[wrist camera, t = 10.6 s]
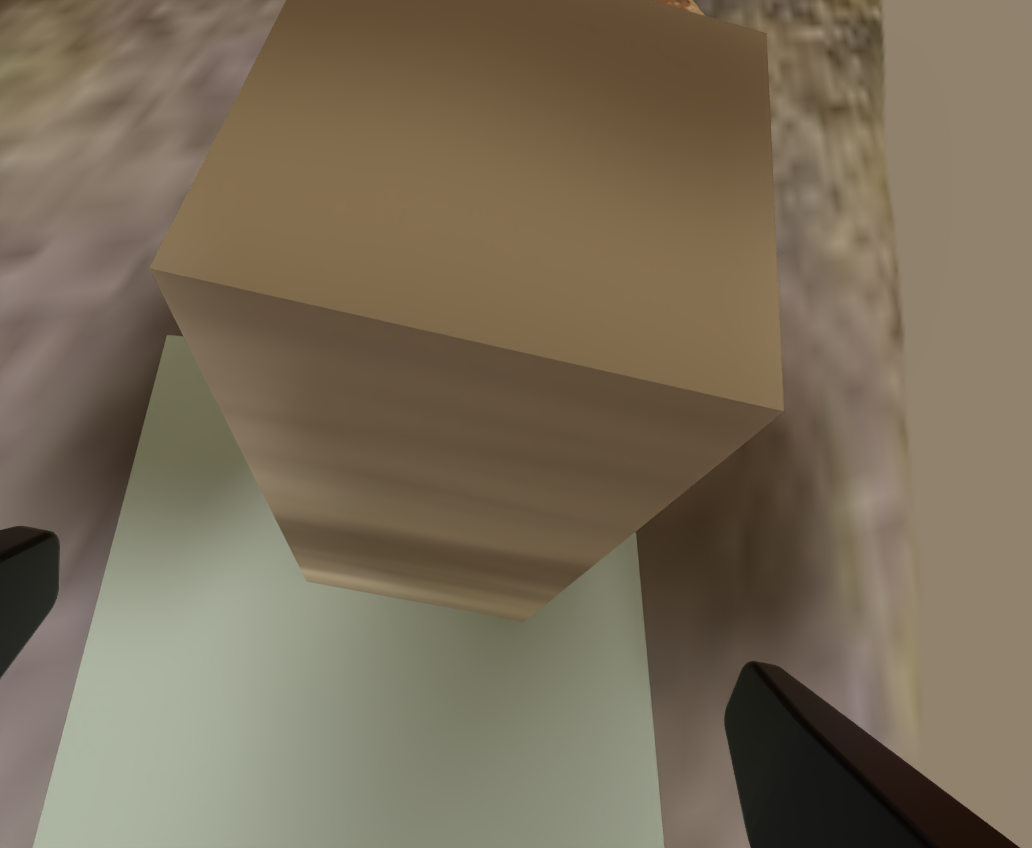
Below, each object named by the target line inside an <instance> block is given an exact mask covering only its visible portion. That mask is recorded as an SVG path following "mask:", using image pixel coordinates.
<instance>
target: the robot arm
mask: <svg viewBox="0 0 1032 848" xmlns="http://www.w3.org/2000/svg"><path fill="white" fill-rule="evenodd" d="M59 559H60V543H59V539H58V536H57V535H56V534H55V533H54V532H52V531H47V530H42V529H37V528H31V527H26V526H16V527H11V528H7V529H3V530H0V679H1V677H2V676H3V675H4V673H5V672H6V671H7V669H8V668H9V667H10V665H11V664H12V662H13V661H14V660H15V658H16V657H17V656H18V654H19V653H20V652H21V650H22V649H23V648H24V646H25V645H26V643H27V642H28V641H29V639H30V638H31V637H32V635H33V634H34V633H35V631H36V630H37V629H38V627H39V626H40V624H41V623H42V622H43V620H44V619H45V618H46V616H47V615H48V614H49V612H50V611H51V609H52V608H53V606H54V604H55V601H56V599H57V595H58V591H59ZM724 722H725V731H726V736H727V740H728V745H729V750H730V755H731V760H732V765H733V770H734V775H735V779H736V784H737V789H738V794H739V799H740V804H741V809H742V813H743V818H744V823H745V827H746V831H747V836H748V840H749V843H750V847H751V848H1020V847H1018V846H1017V845H1016V844H1014V843H1013V842H1012V841H1010V840H1009V839H1008V838H1006V837H1005V836H1004V835H1002V834H1001V833H1000V832H998V831H997V830H996V829H994V828H993V827H992V826H990V825H989V824H988V823H986V822H985V821H984V820H982V819H981V818H980V817H978V816H977V815H976V814H974V813H973V812H972V811H970V810H969V809H968V808H967V807H965V806H964V805H963V804H961V803H960V802H958V801H957V800H956V799H955V798H953V797H952V796H951V795H949V794H948V793H947V792H945V791H944V790H942V789H941V788H940V787H938V786H937V785H936V784H935V783H933V782H932V781H930V780H929V779H928V778H927V777H925V776H924V775H923V774H921V773H920V772H919V771H917V770H916V769H915V768H913V767H912V766H911V765H909V764H908V763H907V762H905V761H904V760H903V759H901V758H900V757H899V756H897V755H896V754H895V753H893V752H892V751H891V750H889V749H888V748H887V747H885V746H884V745H883V744H882V743H880V742H879V741H878V740H876V739H875V738H874V737H872V736H871V735H870V734H868V733H867V732H866V731H864V730H863V729H862V728H860V727H859V726H858V725H856V724H855V723H854V722H852V721H851V720H850V719H848V718H847V717H846V716H844V715H843V714H842V713H840V712H839V711H838V710H836V709H835V708H834V707H832V706H831V705H830V704H828V703H827V702H826V701H824V700H823V699H822V698H820V697H819V696H818V695H816V694H815V693H814V692H812V691H811V690H810V689H808V688H807V687H806V686H804V685H803V684H802V683H800V682H799V681H798V680H796V679H795V678H794V677H792V676H791V675H790V674H789V673H787V672H786V671H785V670H783V669H782V668H780V667H779V666H776V665H772V664H766V663H761V662H755V661H751V662H748V663H746V664H745V665H744V667H743V668H742V670H741V672H740V675H739V677H738V680H737V682H736V685H735V687H734V690H733V692H732V694H731V697H730V699H729V702H728V704H727V707H726V711H725V718H724Z"/></svg>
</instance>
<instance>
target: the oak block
mask: <svg viewBox="0 0 1032 848" xmlns="http://www.w3.org/2000/svg"><path fill="white" fill-rule="evenodd" d="M149 269H150V271H151V273H152V275H153V277H154V279H155V281H156V283H157V285H158V287H159V289H160V291H161V293H162V295H163V296H164V298H165V300H166V302H167V304H168V306H169V308H170V310H171V312H172V314H173V316H174V318H175V320H176V322H177V324H178V326H179V328H180V330H181V332H182V334H183V336H184V338H185V340H186V342H187V344H188V346H189V348H190V350H191V352H192V354H193V356H194V358H195V360H196V362H197V364H198V366H199V368H200V370H201V372H202V374H203V376H204V378H205V380H206V382H207V384H208V386H209V388H210V390H211V392H212V394H213V396H214V398H215V400H216V402H217V404H218V406H219V408H220V410H221V412H222V414H223V416H224V418H225V420H226V422H227V424H228V426H229V428H230V430H231V432H232V434H233V436H234V438H235V440H236V442H237V444H238V446H239V448H240V450H241V452H242V454H243V456H244V458H245V460H246V462H247V464H248V466H249V468H250V470H251V472H252V474H253V476H254V478H255V480H256V482H257V484H258V486H259V488H260V490H261V492H262V494H263V496H264V498H265V500H266V502H267V504H268V506H269V508H270V510H271V512H272V514H273V516H274V517H275V519H276V521H277V523H278V525H279V527H280V529H281V531H282V533H283V535H284V537H285V539H286V541H287V543H288V545H289V547H290V549H291V551H292V553H293V555H294V557H295V559H296V561H297V563H298V565H299V567H300V569H301V571H302V573H303V575H304V577H305V579H306V581H307V582H312V583H318V584H323V585H328V586H334V587H339V588H345V589H350V590H356V591H361V592H366V593H372V594H377V595H383V596H388V597H394V598H399V599H404V600H410V601H415V602H421V603H426V604H432V605H437V606H442V607H448V608H453V609H459V610H464V611H470V612H475V613H480V614H486V615H491V616H497V617H502V618H508V619H513V620H518V621H524V622H525V621H526V620H527V619H528V618H529V617H531V616H532V615H533V614H534V613H536V612H537V611H538V610H539V609H541V608H542V607H543V606H544V605H546V604H547V603H548V602H549V601H550V600H552V599H553V598H554V597H555V596H557V595H558V594H559V593H560V592H562V591H563V590H564V589H565V588H567V587H568V586H569V585H570V584H571V583H573V582H574V581H575V580H576V579H578V578H579V577H580V576H581V575H583V574H584V573H585V572H586V571H588V570H589V569H590V568H591V567H592V566H594V565H595V564H596V563H597V562H599V561H600V560H601V559H602V558H604V557H605V556H606V555H607V554H609V553H610V552H611V551H612V550H613V549H615V548H616V547H617V546H618V545H620V544H621V543H622V542H623V541H625V540H626V539H627V538H628V537H630V536H631V535H632V534H633V533H634V532H636V531H637V530H638V529H639V528H641V527H642V526H643V525H644V524H646V523H647V522H648V521H649V520H651V519H652V518H653V517H654V516H655V515H657V514H658V513H659V512H660V511H662V510H663V509H664V508H665V507H667V506H668V505H669V504H670V503H672V502H673V501H674V500H675V499H676V498H678V497H679V496H680V495H681V494H683V493H684V492H685V491H686V490H688V489H689V488H690V487H691V486H693V485H694V484H695V483H696V482H697V481H699V480H700V479H701V478H702V477H704V476H705V475H706V474H707V473H709V472H710V471H711V470H712V469H714V468H715V467H716V466H717V465H718V464H720V463H721V462H722V461H723V460H725V459H726V458H727V457H728V456H730V455H731V454H732V453H733V452H735V451H736V450H737V449H738V448H739V447H741V446H742V445H743V444H744V443H746V442H747V441H748V440H749V439H751V438H752V437H753V436H754V435H756V434H757V433H758V432H759V431H760V430H762V429H763V428H764V427H765V426H767V425H768V424H769V423H770V422H772V421H773V420H774V419H775V418H777V417H778V416H779V415H780V414H781V413H783V412H784V398H783V377H782V356H781V334H780V313H779V291H778V270H777V248H776V227H775V206H774V184H773V163H772V141H771V120H770V98H769V77H768V56H767V34H766V33H764V32H760V31H757V30H753V29H750V28H746V27H743V26H739V25H736V24H732V23H729V22H725V21H722V20H718V19H715V18H711V17H708V16H704V15H701V14H697V13H694V12H690V11H687V10H683V9H680V8H676V7H673V6H669V5H666V4H662V3H659V2H655V1H652V0H286V2H285V4H284V6H283V8H282V10H281V12H280V14H279V16H278V18H277V20H276V22H275V24H274V26H273V28H272V30H271V32H270V34H269V35H268V37H267V39H266V41H265V43H264V45H263V47H262V49H261V51H260V53H259V55H258V57H257V59H256V61H255V63H254V65H253V67H252V69H251V71H250V73H249V74H248V76H247V78H246V80H245V82H244V84H243V86H242V88H241V90H240V92H239V94H238V96H237V98H236V100H235V102H234V104H233V106H232V108H231V110H230V112H229V114H228V115H227V117H226V119H225V121H224V123H223V125H222V127H221V129H220V131H219V133H218V135H217V137H216V139H215V141H214V143H213V145H212V147H211V149H210V151H209V153H208V155H207V156H206V158H205V160H204V162H203V164H202V166H201V168H200V170H199V172H198V174H197V176H196V178H195V180H194V182H193V184H192V186H191V188H190V190H189V192H188V194H187V195H186V197H185V199H184V201H183V203H182V205H181V207H180V209H179V211H178V213H177V215H176V217H175V219H174V221H173V223H172V225H171V227H170V229H169V231H168V233H167V235H166V236H165V238H164V240H163V242H162V244H161V246H160V248H159V250H158V252H157V254H156V256H155V258H154V260H153V262H152V264H151V266H150V268H149Z"/></svg>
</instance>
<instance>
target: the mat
mask: <svg viewBox="0 0 1032 848" xmlns="http://www.w3.org/2000/svg"><path fill="white" fill-rule="evenodd" d="M33 848H664V839H663V828H662V816H661V805H660V794H659V783H658V772H657V761H656V750H655V738H654V727H653V716H652V705H651V694H650V683H649V671H648V660H647V649H646V638H645V627H644V616H643V605H642V593H641V582H640V571H639V560H638V549H637V538H636V532H634V533H633V534H632V535H631V536H630V537H628V538H627V539H626V540H625V541H623V542H622V543H621V544H620V545H618V546H617V547H616V548H615V549H613V550H612V551H611V552H610V553H609V554H607V555H606V556H605V557H604V558H602V559H601V560H600V561H599V562H597V563H596V564H595V565H594V566H592V567H591V568H590V569H589V570H588V571H586V572H585V573H584V574H583V575H581V576H580V577H579V578H578V579H576V580H575V581H574V582H573V583H571V584H570V585H569V586H568V587H567V588H565V589H564V590H563V591H562V592H560V593H559V594H558V595H557V596H555V597H554V598H553V599H552V600H550V601H549V602H548V603H547V604H546V605H544V606H543V607H542V608H541V609H539V610H538V611H537V612H536V613H534V614H533V615H532V616H531V617H529V618H528V619H527V620H526V621H525V622H524V621H518V620H513V619H508V618H502V617H497V616H491V615H486V614H480V613H475V612H470V611H464V610H459V609H453V608H448V607H442V606H437V605H432V604H426V603H421V602H415V601H410V600H404V599H399V598H394V597H388V596H383V595H377V594H372V593H366V592H361V591H356V590H350V589H345V588H339V587H334V586H328V585H323V584H318V583H312V582H307V581H306V579H305V577H304V575H303V573H302V571H301V569H300V567H299V565H298V563H297V561H296V559H295V557H294V555H293V553H292V551H291V549H290V547H289V545H288V543H287V541H286V539H285V537H284V535H283V533H282V531H281V529H280V527H279V525H278V523H277V521H276V519H275V517H274V516H273V514H272V512H271V510H270V508H269V506H268V504H267V502H266V500H265V498H264V496H263V494H262V492H261V490H260V488H259V486H258V484H257V482H256V480H255V478H254V476H253V474H252V472H251V470H250V468H249V466H248V464H247V462H246V460H245V458H244V456H243V454H242V452H241V450H240V448H239V446H238V444H237V442H236V440H235V438H234V436H233V434H232V432H231V430H230V428H229V426H228V424H227V422H226V420H225V418H224V416H223V414H222V412H221V410H220V408H219V406H218V404H217V402H216V400H215V398H214V396H213V394H212V392H211V390H210V388H209V386H208V384H207V382H206V380H205V378H204V376H203V374H202V372H201V370H200V368H199V366H198V364H197V362H196V360H195V358H194V356H193V354H192V352H191V350H190V348H189V346H188V344H187V342H186V340H185V338H184V336H174V335H167V337H166V340H165V344H164V348H163V352H162V356H161V360H160V363H159V367H158V371H157V375H156V379H155V383H154V386H153V390H152V394H151V398H150V402H149V405H148V409H147V413H146V417H145V421H144V425H143V428H142V432H141V436H140V440H139V444H138V447H137V451H136V455H135V459H134V463H133V467H132V470H131V474H130V478H129V482H128V486H127V490H126V493H125V497H124V501H123V505H122V509H121V512H120V516H119V520H118V524H117V528H116V532H115V535H114V539H113V543H112V547H111V551H110V554H109V558H108V562H107V566H106V570H105V574H104V577H103V581H102V585H101V589H100V593H99V597H98V600H97V604H96V608H95V612H94V616H93V619H92V623H91V627H90V631H89V635H88V639H87V642H86V646H85V650H84V654H83V658H82V661H81V665H80V669H79V673H78V677H77V681H76V684H75V688H74V692H73V696H72V700H71V704H70V707H69V711H68V715H67V719H66V723H65V726H64V730H63V734H62V738H61V742H60V746H59V749H58V753H57V757H56V761H55V765H54V768H53V772H52V776H51V780H50V784H49V788H48V791H47V795H46V799H45V803H44V807H43V811H42V814H41V818H40V822H39V826H38V830H37V833H36V837H35V841H34V845H33Z"/></svg>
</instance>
